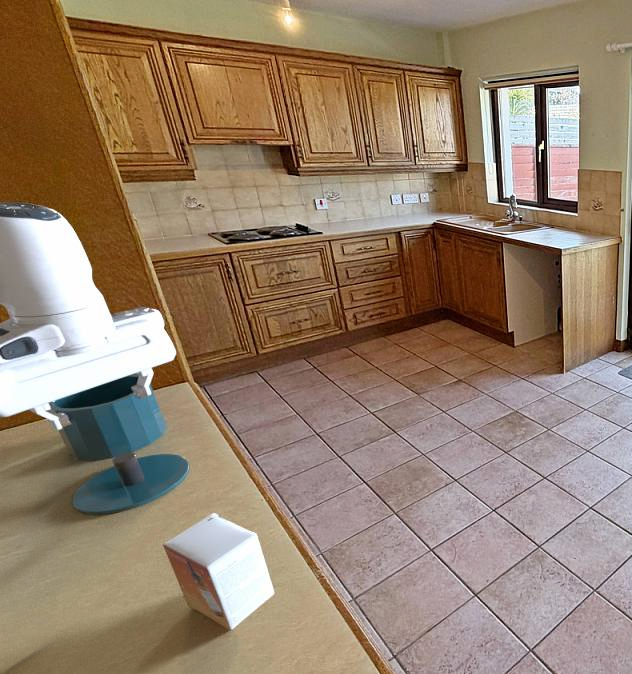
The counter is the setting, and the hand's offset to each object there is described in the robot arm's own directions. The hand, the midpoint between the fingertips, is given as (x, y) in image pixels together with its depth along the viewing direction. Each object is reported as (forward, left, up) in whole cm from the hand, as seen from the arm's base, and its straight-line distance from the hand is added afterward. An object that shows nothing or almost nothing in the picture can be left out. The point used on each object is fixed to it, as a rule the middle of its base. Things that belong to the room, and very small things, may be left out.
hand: (105, 410), depth 70 cm
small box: (+34, -6, -15) cm, 37 cm away
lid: (0, 0, -14) cm, 14 cm away
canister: (-16, +5, -14) cm, 22 cm away
